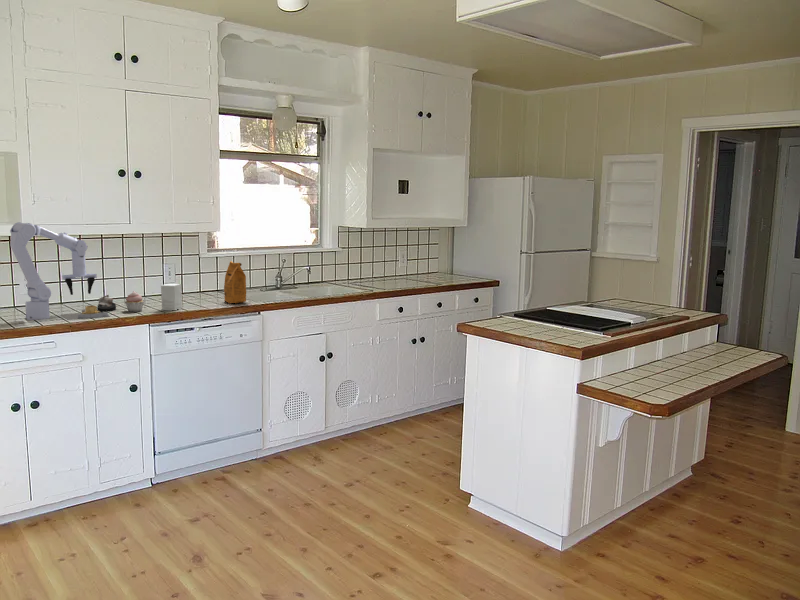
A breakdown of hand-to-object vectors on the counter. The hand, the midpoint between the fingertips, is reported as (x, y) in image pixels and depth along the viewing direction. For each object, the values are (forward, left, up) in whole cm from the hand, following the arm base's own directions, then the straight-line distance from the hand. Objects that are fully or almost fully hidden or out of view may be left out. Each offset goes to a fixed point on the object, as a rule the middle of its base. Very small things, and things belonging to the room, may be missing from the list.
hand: (80, 294), depth 320 cm
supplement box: (+41, -5, -10) cm, 43 cm away
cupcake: (+24, -1, -10) cm, 26 cm away
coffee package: (+77, +2, -10) cm, 78 cm away
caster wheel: (+13, +4, -10) cm, 17 cm away
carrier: (0, -9, -10) cm, 13 cm away
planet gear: (+2, -12, -9) cm, 15 cm away
